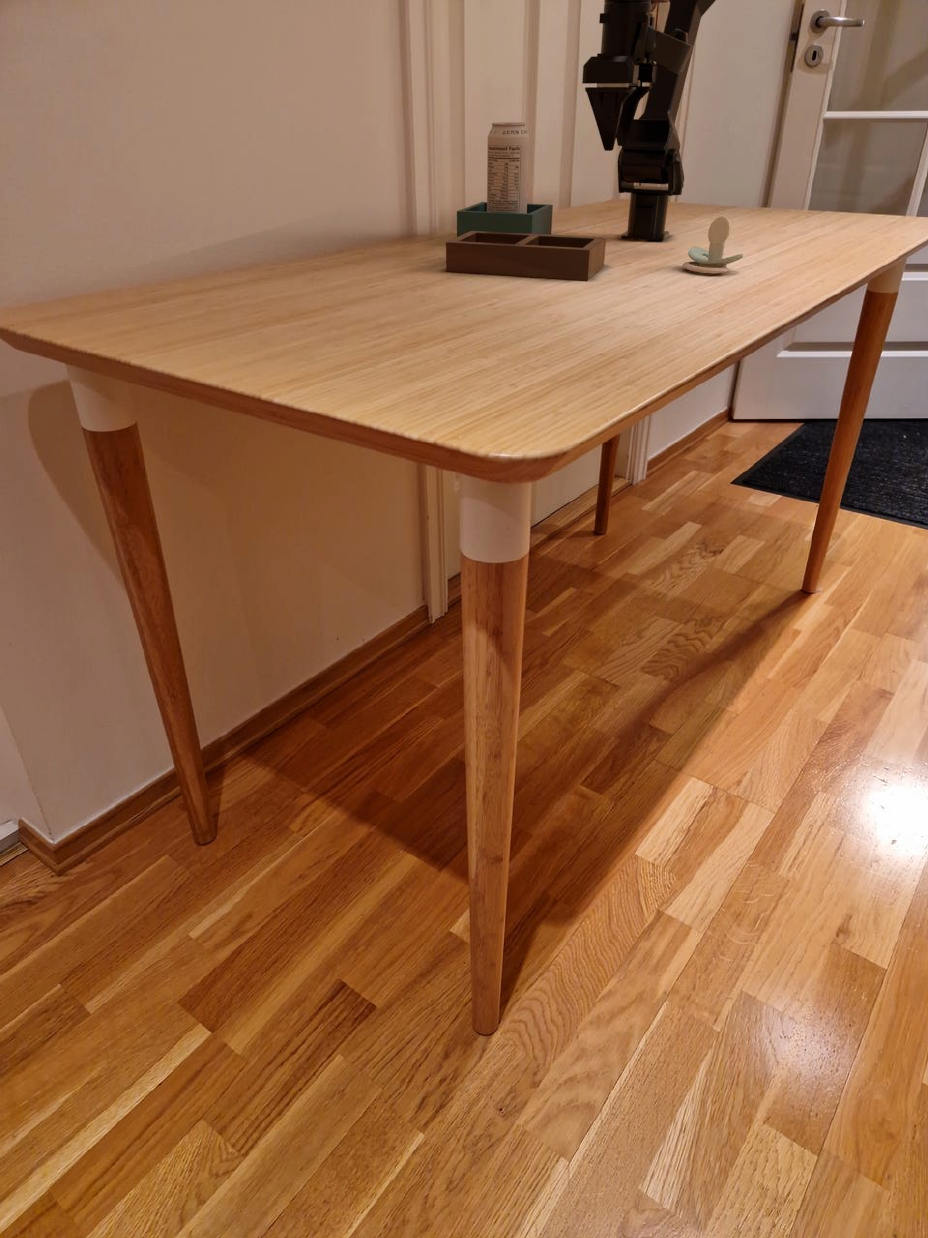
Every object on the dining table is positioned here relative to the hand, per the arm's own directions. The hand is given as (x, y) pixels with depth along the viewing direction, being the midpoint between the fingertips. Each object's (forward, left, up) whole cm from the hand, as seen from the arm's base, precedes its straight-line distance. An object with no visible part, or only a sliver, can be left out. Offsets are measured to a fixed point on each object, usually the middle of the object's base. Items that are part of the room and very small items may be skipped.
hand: (615, 148), depth 112 cm
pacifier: (+9, +15, -13) cm, 22 cm away
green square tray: (-6, -17, -13) cm, 22 cm away
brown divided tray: (+15, -8, -13) cm, 21 cm away
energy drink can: (-6, -17, -13) cm, 22 cm away
